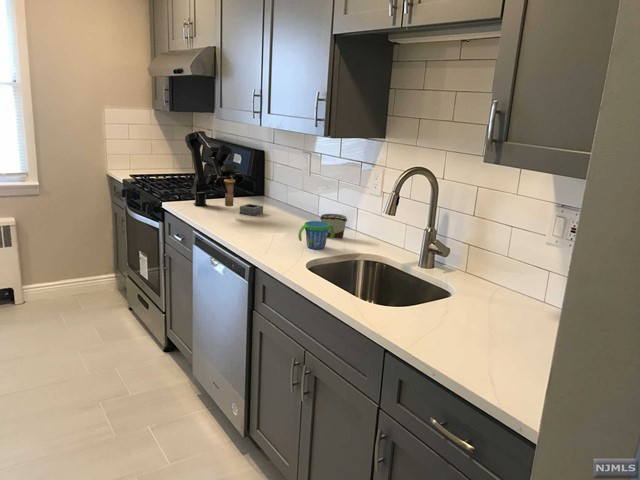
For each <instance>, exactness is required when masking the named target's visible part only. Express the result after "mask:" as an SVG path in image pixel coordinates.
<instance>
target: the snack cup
mask: <svg viewBox="0 0 640 480" xmlns="http://www.w3.org/2000/svg"><path fill="white" fill-rule="evenodd" d="M330 227H331V238H330V239H335V238H334V228H333V227H332V226H331V225H330V224H329V223H326V222H322V221H321V220H310V221H306V222H304V225H302V226H301V227H300V228H299V232H298V240H299V241H300V242H302V233H303V231H304V230H305V241H306V246H307V248H309V249H312V250H323V249H325V248H326V243H327V239H328V238H327V235H328V230H329V228H330Z"/></svg>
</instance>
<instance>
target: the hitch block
mask: <svg viewBox="0 0 640 480" xmlns="http://www.w3.org/2000/svg"><path fill="white" fill-rule="evenodd" d="M262 214H264V206H263V205H259V204H252V203H246V204H243V205H239V215H244V216H245V215H246V216H250V217H257V216H260V215H262Z"/></svg>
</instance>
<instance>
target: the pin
mask: <svg viewBox="0 0 640 480" xmlns="http://www.w3.org/2000/svg"><path fill="white" fill-rule="evenodd" d="M223 182H224V185H225V187H226V190H227V194H226V193H224V194H225V195H224V206H225V207H233V206H234V194H235V193H234V182H235V179H224V181H223Z"/></svg>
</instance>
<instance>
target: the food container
mask: <svg viewBox="0 0 640 480" xmlns="http://www.w3.org/2000/svg"><path fill="white" fill-rule="evenodd" d="M319 221H322V222H326V223H329V224H330V225H331V226H332V227H333V228H334V238H333V239H335V238H336V239H337V240H343V239H344V235H345V228H346V222H348V218H347V216H346V215H343V214H338V213H324V214H322V215H321V216H320V218H319ZM327 239H331V227H330V228H329V230H328V235H327Z"/></svg>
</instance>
